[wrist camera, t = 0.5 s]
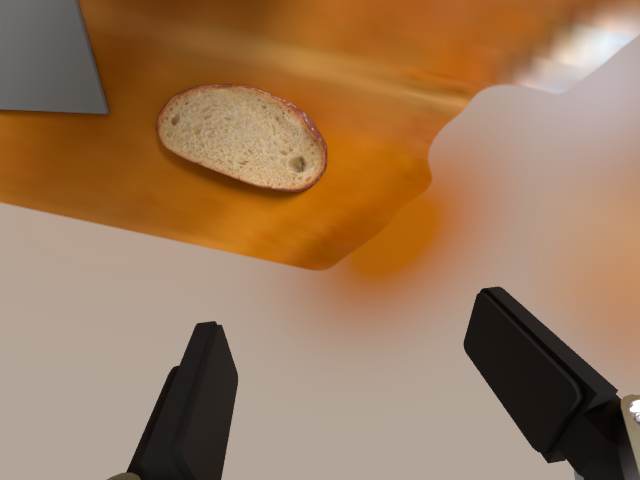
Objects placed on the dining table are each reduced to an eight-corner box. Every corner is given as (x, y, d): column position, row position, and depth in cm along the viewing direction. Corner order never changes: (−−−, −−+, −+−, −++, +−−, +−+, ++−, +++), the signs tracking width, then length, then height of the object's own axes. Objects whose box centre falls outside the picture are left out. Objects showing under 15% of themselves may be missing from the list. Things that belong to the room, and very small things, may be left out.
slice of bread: (143, 120, 33) (128, 122, 30) (263, 31, 30) (260, 22, 27) (237, 229, 41) (232, 240, 38) (338, 166, 38) (343, 172, 35)
